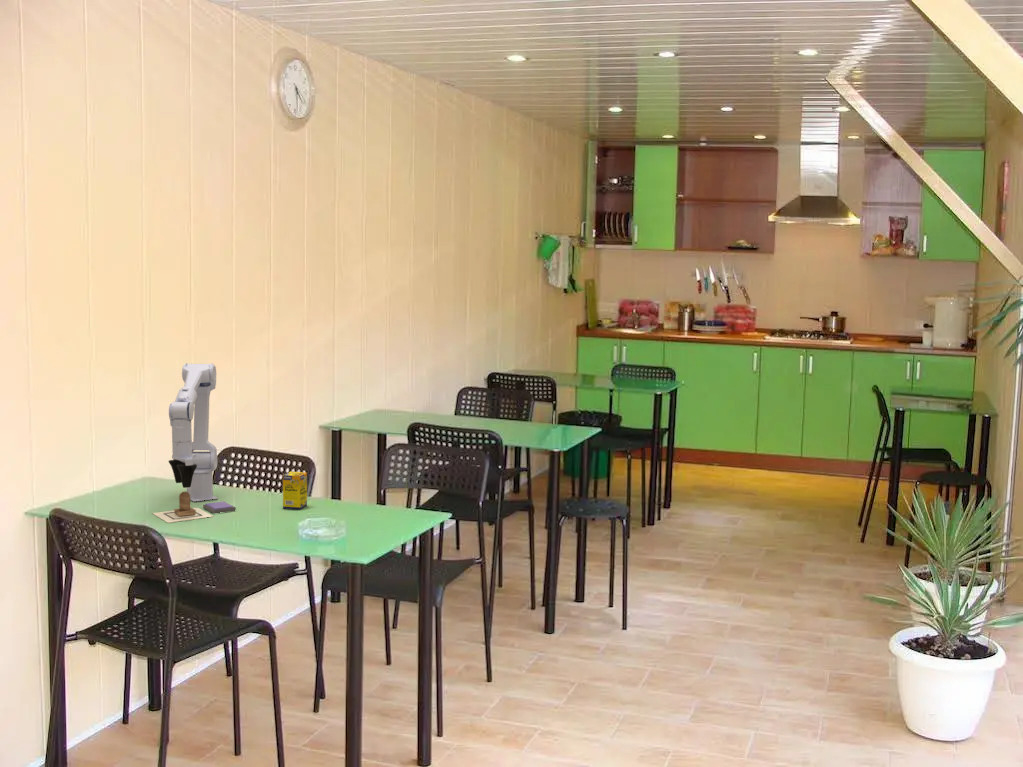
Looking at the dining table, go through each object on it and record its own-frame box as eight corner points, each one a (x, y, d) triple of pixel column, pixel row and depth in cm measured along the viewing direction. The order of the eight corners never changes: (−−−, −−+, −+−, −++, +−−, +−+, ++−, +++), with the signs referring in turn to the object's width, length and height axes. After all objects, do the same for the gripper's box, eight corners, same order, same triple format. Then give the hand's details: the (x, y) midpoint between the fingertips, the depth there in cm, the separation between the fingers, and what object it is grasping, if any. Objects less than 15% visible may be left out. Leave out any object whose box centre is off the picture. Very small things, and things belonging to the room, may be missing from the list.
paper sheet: (152, 513, 349) (152, 512, 349) (196, 508, 357) (196, 507, 357) (167, 523, 338) (167, 522, 338) (213, 516, 346) (213, 515, 346)
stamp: (174, 513, 349) (173, 491, 348) (190, 511, 352) (190, 489, 351) (179, 517, 345) (178, 494, 344) (195, 515, 347) (195, 492, 347)
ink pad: (203, 508, 357) (203, 503, 357) (224, 505, 361) (224, 500, 361) (213, 514, 350) (213, 509, 350) (235, 511, 354) (235, 506, 354)
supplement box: (300, 510, 356) (300, 475, 355) (282, 509, 357) (282, 474, 356) (307, 506, 362) (307, 472, 361) (289, 505, 363) (289, 471, 362)
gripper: (202, 443, 341) (203, 488, 343) (188, 436, 354) (189, 479, 355) (178, 445, 338) (179, 490, 339) (165, 438, 350) (166, 481, 351)
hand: (183, 485), depth 347 cm, fingers open, 7 cm apart
